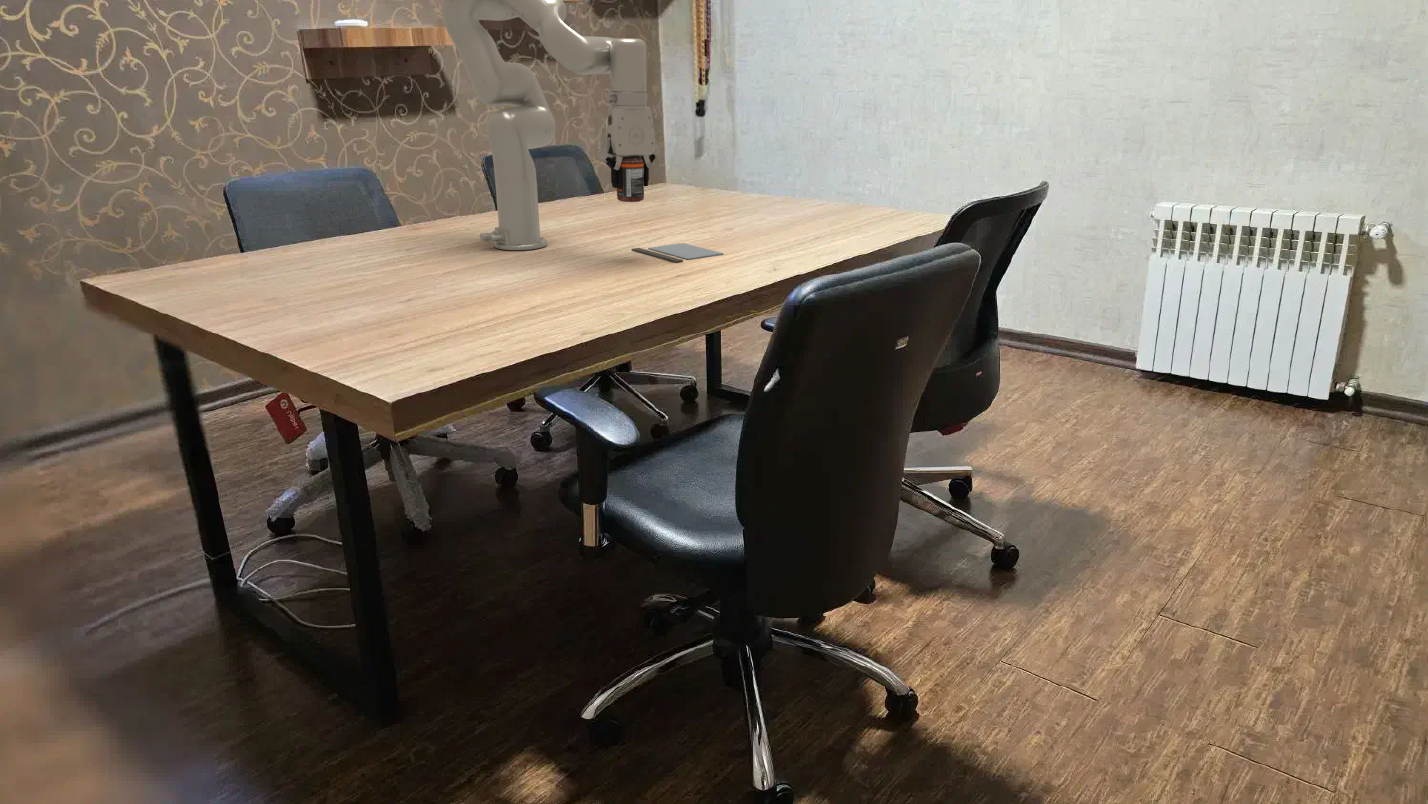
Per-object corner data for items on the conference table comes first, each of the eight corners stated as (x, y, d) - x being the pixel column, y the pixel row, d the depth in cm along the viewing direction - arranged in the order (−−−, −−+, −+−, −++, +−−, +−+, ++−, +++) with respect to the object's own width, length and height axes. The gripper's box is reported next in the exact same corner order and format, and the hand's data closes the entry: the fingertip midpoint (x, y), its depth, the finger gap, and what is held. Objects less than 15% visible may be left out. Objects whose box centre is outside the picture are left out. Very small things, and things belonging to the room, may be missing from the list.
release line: (675, 263, 212) (675, 261, 212) (631, 250, 226) (631, 248, 226) (683, 261, 213) (683, 260, 213) (638, 249, 227) (638, 247, 227)
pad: (687, 260, 215) (687, 258, 215) (648, 249, 227) (648, 247, 227) (723, 254, 221) (723, 253, 221) (682, 244, 233) (682, 243, 233)
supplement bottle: (613, 199, 213) (611, 146, 209) (638, 197, 216) (637, 145, 212) (622, 203, 208) (621, 149, 204) (648, 201, 211) (647, 148, 207)
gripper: (602, 102, 197) (605, 192, 203) (672, 100, 207) (672, 186, 213) (584, 100, 203) (587, 187, 209) (653, 98, 212) (653, 182, 219)
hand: (630, 186), depth 211 cm, fingers closed on supplement bottle, 6 cm apart
